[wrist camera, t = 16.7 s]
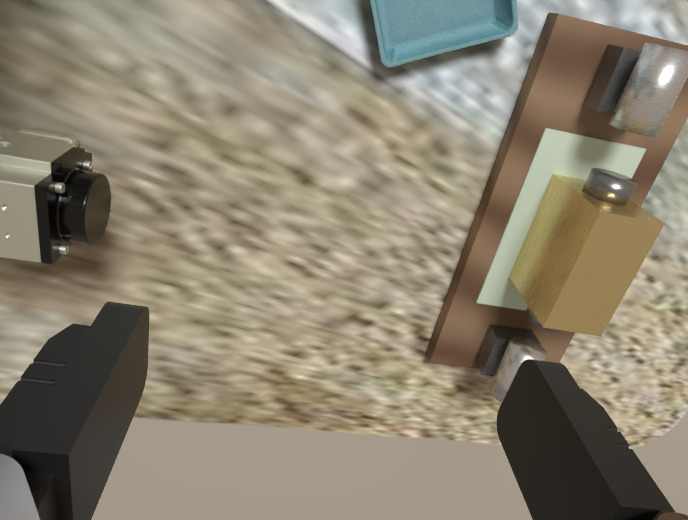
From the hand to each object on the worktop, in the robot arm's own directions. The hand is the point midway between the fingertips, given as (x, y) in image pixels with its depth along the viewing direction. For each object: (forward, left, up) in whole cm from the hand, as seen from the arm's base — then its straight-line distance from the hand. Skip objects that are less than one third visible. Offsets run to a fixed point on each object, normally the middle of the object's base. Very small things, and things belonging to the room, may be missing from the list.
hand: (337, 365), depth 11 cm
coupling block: (+6, +20, -26) cm, 34 cm away
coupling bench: (+6, +20, -28) cm, 35 cm away
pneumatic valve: (+7, -18, -28) cm, 34 cm away
